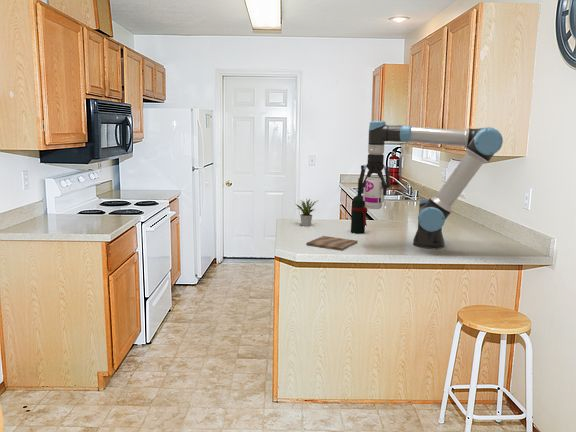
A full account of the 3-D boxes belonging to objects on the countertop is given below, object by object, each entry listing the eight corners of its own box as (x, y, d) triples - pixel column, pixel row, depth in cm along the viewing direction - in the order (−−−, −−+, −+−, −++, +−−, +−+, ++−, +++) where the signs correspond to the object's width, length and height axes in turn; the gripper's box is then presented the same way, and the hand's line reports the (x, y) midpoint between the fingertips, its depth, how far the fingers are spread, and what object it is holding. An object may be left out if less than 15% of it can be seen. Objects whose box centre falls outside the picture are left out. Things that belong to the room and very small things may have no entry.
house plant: (314, 222, 309) (315, 195, 306) (323, 227, 296) (324, 199, 293) (292, 223, 305) (293, 196, 302) (300, 228, 292) (301, 199, 289)
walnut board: (357, 243, 258) (357, 240, 258) (342, 250, 242) (342, 248, 242) (323, 238, 268) (323, 235, 267) (306, 245, 251) (306, 242, 251)
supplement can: (370, 209, 242) (372, 178, 240) (361, 207, 250) (362, 176, 247) (385, 208, 246) (386, 177, 243) (375, 206, 253) (377, 175, 250)
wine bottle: (360, 235, 276) (363, 179, 271) (347, 231, 284) (350, 177, 279) (370, 233, 281) (373, 179, 275) (358, 230, 289) (360, 177, 284)
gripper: (352, 153, 245) (350, 200, 249) (394, 155, 235) (392, 204, 239) (358, 152, 251) (356, 198, 256) (399, 154, 241) (397, 202, 245)
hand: (373, 201), depth 247 cm, fingers closed on supplement can, 8 cm apart
